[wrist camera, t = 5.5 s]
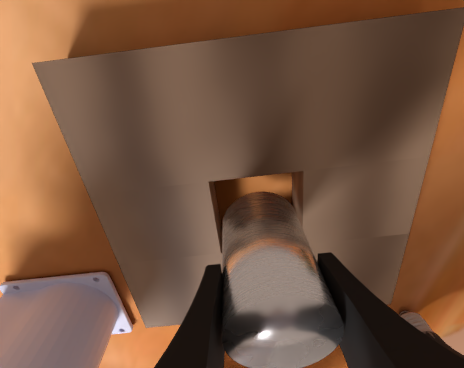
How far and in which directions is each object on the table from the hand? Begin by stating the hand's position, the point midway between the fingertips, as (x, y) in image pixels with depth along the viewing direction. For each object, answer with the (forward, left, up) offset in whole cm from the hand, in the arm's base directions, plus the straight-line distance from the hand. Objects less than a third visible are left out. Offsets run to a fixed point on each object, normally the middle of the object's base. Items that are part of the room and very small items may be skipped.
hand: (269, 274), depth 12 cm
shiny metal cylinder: (0, 0, -4) cm, 4 cm away
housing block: (0, 0, -8) cm, 8 cm away
